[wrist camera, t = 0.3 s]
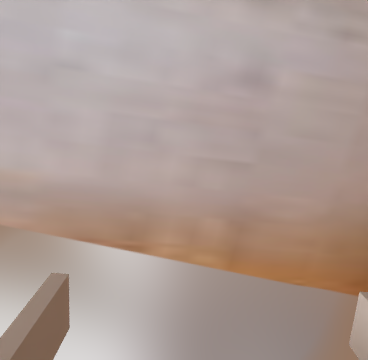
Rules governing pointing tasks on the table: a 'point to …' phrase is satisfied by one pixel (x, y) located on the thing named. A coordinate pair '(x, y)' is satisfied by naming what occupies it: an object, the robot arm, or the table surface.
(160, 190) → the table surface
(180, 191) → the table surface
